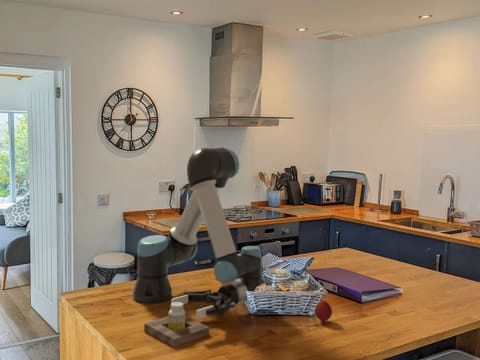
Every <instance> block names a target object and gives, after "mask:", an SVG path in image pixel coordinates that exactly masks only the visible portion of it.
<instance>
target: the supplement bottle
mask: <svg viewBox="0 0 480 360" xmlns="http://www.w3.org/2000/svg"><path fill="white" fill-rule="evenodd" d="M170 303H171V302H170ZM168 316H169V319H168V323H169V324H168V328H169V329H171V330H173V331H177V330H180V329H183V328H185V316H186V311H185V309H184V304H183V303H181V302H173V303H171V304H170V310H169V311H168Z"/></svg>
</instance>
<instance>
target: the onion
mask: <svg viewBox="0 0 480 360" xmlns="http://www.w3.org/2000/svg"><path fill="white" fill-rule="evenodd" d="M314 314H315V317H317V319H319V321H320V322H321V323H324V322H326V321H328V320H329V319H330V318H331V316H332V314H333V309H332V307H331V305H330V303H329V302H327V301H326V299H321V301H320V302H318V303H317V304H316V306H315V309H314Z"/></svg>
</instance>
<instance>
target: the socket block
mask: <svg viewBox="0 0 480 360" xmlns="http://www.w3.org/2000/svg"><path fill="white" fill-rule="evenodd" d="M168 319H169V315H168V316H164V317H162V318H158V319H154V320H152V321H148V322H144V323H143V324H144V325H143V326H144V327H143V331H144V332H145V333H147V334H149V335H151V336H153V337H154V338H157V339H159V340H160V341H162V342H164V343H166V344H168V345H170V346H171V347H174V348H175V347H178V346H182V345H184V344H187V343H190V342H192V341H194V340H198V339H201V338H202V337H206V336H209V335H210V326H208V325H205V324H203V323H201V322H200V321H197V320H194V319H192V318H190V317H188V316H187V315H185V328H183V329H180V330H177V331H173V330H171V329H169V328H168V324H169V323H168Z"/></svg>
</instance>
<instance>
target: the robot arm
mask: <svg viewBox="0 0 480 360" xmlns="http://www.w3.org/2000/svg"><path fill="white" fill-rule="evenodd" d="M239 170H240V161H239V157H238V155H237V154H236V152H235V151H234V150H232V149H230V148H228V147H227V148H226V147H217V148H216V147H215V148H213V147H212V148H208V147H202V148H199V149H197V150H195V151H194V152H193V153H192V154H191V155H190V157H189V159H188V161H187V165H186V175H187V181H188V185H189V187H190V190H191V191H192V193H191V195H190V197H189V199H188V201H187V204H186V205H185V207H184V210H183V212H182V214H181V216H180V219H179V220H178V222H177V225H176V226H173V227H171V228H170V230H169V232H168V235H167V236H166V235H161V234H155V235H148V236H145V237H142V238H141V239H140V240H139V241H138V242H137V250H136V252H137V254H136V256H137V279H136V281H135V284H134V288H133V290H132V299H133V300H134V301H136V302H139V303H147V304H148V303H149V304H154V303H161V302H165V301H168V300H170V299H171V301H170V303H173V302H181V303H183V305H185V304H188V303H190V302H198V303H199V302H200V303H201V302H203V303H204V302H205V303H206V304H213V305H208V306H206V307H202V308H198V309H196V311H195V312H196V314H195V319H197V320H199V319H202V318H206V317H209V316H213V315H218V314H219V316H224V315H225V314H227V312H229V310H230V309H231V308H234V307H235V306H236V305H240V304H242V303H247V302H248V301H247V295H246V291H254V290H255V288H256V287H257V286H259V285H261V284H262V283H267V284H268V281H267V279H266V278H265V277H264V276H262V273H263V272H262V269H263V267H262V266H263V265H262V264H263V263H262V262H263V261H262V259H263V257H262V248H261V247H259V246H256V245H254V246H253V245H247V246H243V247H241V250H240V255H238V252H237V250H236V249H237V248H236V246H235V243H234V240H233V237H232V234H231V231H230V228H229V225H228V222H227V219H226V215H225V212H224V210H223V207H222V203H221V200H220V198H219V195H218V191H219V190H221V189H224V188H225V187H226V184H227V182H228V181H229V179H232V178H234V177H235V176H236V175H237V174H238V172H239ZM203 222H204V225H205V228H206V230H207V231H206V232H207V235H208V238H209V240H210V243H211V246H212V250H213V253H214V256H215V259H216V261H217V263H216V264H215V265H214V268H213V269H214V270H213V274H214V277H215V278H216V280H217V281H218V282H220V283H223V284H225V283H227V284H226V285H222V286H220V287H219V288H218V290H217V291H212V290H211V289H206V290H193V291H184V293H183V295H181V296H180V295H179V296H177V297H173V298H172V296H173V290H172V286H171V283H170V280H169V277H168V272H169V270H168V269H169V267H172V266H176V265H179V264H183V263H186V262H188V261H191V260H192V259H193V258H194V257H195V256H196V255H197V252H198V246H197V245H198V237H197V233H198V231H199V229H200V227H201V225H202V223H203ZM240 278H241V280H240V281H236V280H238V279H240ZM234 281H236V282H234ZM230 282H231V283H230ZM228 283H230V284H228Z"/></svg>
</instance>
